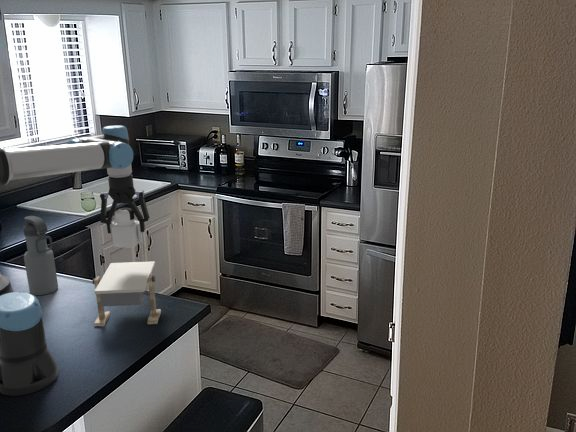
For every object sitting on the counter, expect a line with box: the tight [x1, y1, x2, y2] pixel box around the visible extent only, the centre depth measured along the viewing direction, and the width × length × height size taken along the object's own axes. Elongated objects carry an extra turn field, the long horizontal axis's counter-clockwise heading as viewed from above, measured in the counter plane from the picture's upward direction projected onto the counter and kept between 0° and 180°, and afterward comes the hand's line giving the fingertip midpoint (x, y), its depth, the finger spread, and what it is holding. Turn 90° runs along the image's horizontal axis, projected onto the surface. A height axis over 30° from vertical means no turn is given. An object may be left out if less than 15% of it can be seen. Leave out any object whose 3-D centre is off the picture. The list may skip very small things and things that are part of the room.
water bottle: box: [22, 215, 59, 296], centre depth 198 cm, size 10×10×28 cm
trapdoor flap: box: [94, 260, 156, 307], centre depth 179 cm, size 21×15×5 cm
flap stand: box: [91, 273, 162, 327], centre depth 177 cm, size 8×20×15 cm, turn 94°
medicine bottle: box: [110, 207, 139, 249], centre depth 180 cm, size 7×7×12 cm
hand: (127, 241), depth 181 cm, fingers closed on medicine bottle, 8 cm apart
